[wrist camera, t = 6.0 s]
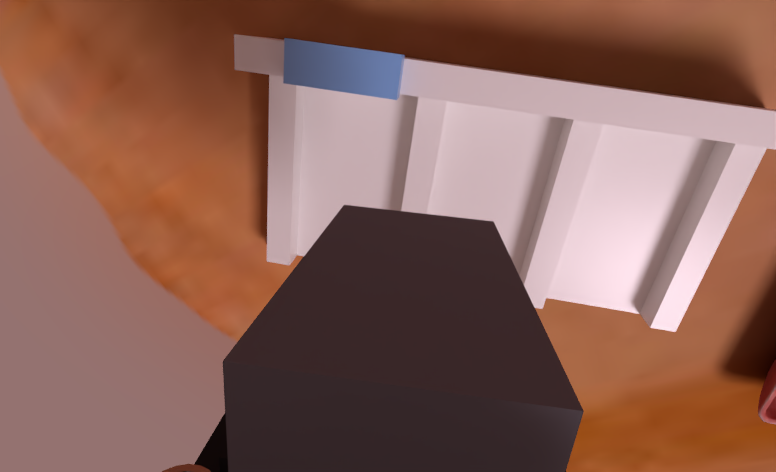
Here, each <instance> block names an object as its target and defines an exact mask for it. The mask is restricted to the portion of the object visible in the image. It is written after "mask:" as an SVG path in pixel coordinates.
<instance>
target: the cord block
mask: <svg viewBox="0 0 776 472" xmlns="http://www.w3.org/2000/svg"><path fill="white" fill-rule="evenodd" d="M223 373H224V374H223V375H224V395H225V414H226V434H227V454H228V472H565V471H566V468H567V464H568V461H569V458H570V454H571V451H572V448H573V444H574V441H575V438H576V435H577V431H578V428H579V425H580V421H581V418H582V415H583V409H582V407H581V405H580V403H579V401H578V398H577V396H576V394H575V392H574V390H573V388H572V386H571V384H570V382H569V379H568V377H567V375H566V373H565V371H564V369H563V367H562V365H561V363H560V360H559V358H558V356H557V354H556V352H555V350H554V348H553V346H552V344H551V341H550V339H549V337H548V335H547V333H546V331H545V329H544V327H543V325H542V323H541V320H540V318H539V316H538V314H537V312H536V310H535V308H534V306H533V304H532V301H531V299H530V297H529V295H528V293H527V291H526V289H525V287H524V285H523V282H522V280H521V278H520V276H519V274H518V272H517V270H516V268H515V266H514V263H513V261H512V259H511V257H510V255H509V253H508V251H507V249H506V247H505V244H504V242H503V240H502V238H501V236H500V234H499V232H498V230H497V228H496V225H495V223H494V221H486V220H477V219H468V218H459V217H450V216H441V215H432V214H423V213H414V212H405V211H396V210H387V209H378V208H369V207H360V206H351V205H343V207H342V208H341V209H340V211H339V212H338V213H337V214H336V216H335V217H334V218H333V220H332V221H331V222H330V224H329V225H328V226H327V227H326V229H325V230H324V231H323V233H322V234H321V235H320V236H319V238H318V239H317V240H316V242H315V243H314V244H313V245H312V247H311V248H310V249H309V251H308V252H307V253H306V255H305V256H304V257H303V258H302V260H301V261H300V262H299V264H298V265H297V266H296V267H295V269H294V270H293V271H292V273H291V274H290V275H289V276H288V278H287V279H286V280H285V282H284V283H283V284H282V286H281V287H280V288H279V289H278V291H277V292H276V293H275V295H274V296H273V297H272V298H271V300H270V301H269V302H268V304H267V305H266V306H265V307H264V309H263V310H262V311H261V313H260V314H259V315H258V316H257V318H256V319H255V320H254V322H253V323H252V324H251V326H250V327H249V328H248V329H247V331H246V332H245V333H244V335H243V336H242V337H241V338H240V340H239V341H238V342H237V344H236V345H235V346H234V347H233V349H232V350H231V352H230V353H229V354H228V355H227V357H226V358H225V359H224V361H223Z"/></svg>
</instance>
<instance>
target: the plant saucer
mask: <svg viewBox="0 0 776 472" xmlns="http://www.w3.org/2000/svg"><path fill="white" fill-rule="evenodd" d="M758 414H759V417H760V418H761V419H762V421H764V422H768V423H771V424H776V359H775V361H774V362H773V364H772V366H771V367H770V369H769V372H768V374H767V377H766V379H765V382H764V385H763V388H762V391H761V395H760V399H759V406H758Z"/></svg>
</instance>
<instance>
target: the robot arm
mask: <svg viewBox="0 0 776 472" xmlns="http://www.w3.org/2000/svg"><path fill="white" fill-rule="evenodd" d="M162 472H228V454H227V434H226V414H224V416H223V417H222V419H221V421H220V422H219V424H218V426H217V427H216V429H215V431H214V432H213V434H212V436H211V437H210V439H209V441H208V442H207V444H206V446H205V447H204V449H203V451H202V452H201V454H200V456H199V457H198V459H197V461H196V462H195V464H194V465H192V464H185V465H179V466H175V467H172V468H169V469H167V470H164V471H162ZM565 472H566V471H565Z"/></svg>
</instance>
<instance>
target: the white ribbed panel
mask: <svg viewBox="0 0 776 472" xmlns="http://www.w3.org/2000/svg"><path fill="white" fill-rule="evenodd" d="M234 61H235V70H240V71H246V72H253V73H260V74H267V75H269V131H268V206H267V262H273V263H279V264H285V265H290V264H291V263H292V261H293V260H294V259H295V257H296V256H297V255H299V256H305V255H306V253H307V252H308V251H309V249H310V248H311V247H312V245H313V244H314V243H315V242H316V240H317V239H318V238H319V236H320V235H321V234H322V233H323V231H324V230H325V229H326V227H327V226H328V225H329V224H330V222H331V221H332V220H333V218H334V217H335V216H336V214H337V213H338V212H339V211H340V209H341V208H342V207H343V205H351V206H360V207H369V208H378V209H387V210H396V211H405V212H414V213H423V214H432V215H441V216H450V217H459V218H468V219H477V220H486V221H494V223H495V225H496V228H497V230H498V232H499V234H500V236H501V238H502V240H503V242H504V244H505V247H506V249H507V251H508V253H509V255H510V257H511V259H512V261H513V263H514V266H515V268H516V270H517V272H518V274H519V276H520V278H521V280H522V282H523V285H524V287H525V289H526V291H527V293H528V295H529V297H530V299H531V301H532V304H533V306H534V308H540V309H543V306H544V303H545V300H546V298H550V299H556V300H562V301H568V302H574V303H580V304H586V305H591V306H597V307H603V308H609V309H615V310H621V311H626V312H632V313H638V314H640V315H641V316H642V318H643V319H644V320H645V321H646V323H647V324H648V325H649V327H650V328H655V329H661V330H667V331H673V332H676V330H677V328H678V326H679V324H680V322H681V320H682V318H683V316H684V314H685V312H686V310H687V308H688V306H689V304H690V302H691V300H692V298H693V296H694V294H695V292H696V290H697V288H698V286H699V284H700V282H701V280H702V278H703V276H704V274H705V272H706V270H707V268H708V266H709V263H710V261H711V259H712V257H713V255H714V253H715V251H716V249H717V247H718V245H719V243H720V241H721V239H722V237H723V235H724V233H725V231H726V229H727V227H728V225H729V223H730V221H731V219H732V217H733V215H734V213H735V211H736V209H737V207H738V205H739V203H740V201H741V199H742V197H743V195H744V193H745V191H746V189H747V187H748V185H749V183H750V181H751V179H752V177H753V175H754V173H755V171H756V169H757V167H758V165H759V163H760V161H761V159H762V157H763V155H764V153H765V151H766V149H767V148H769V149H775V150H776V110H774V109H767V108H761V107H754V106H747V105H740V104H733V103H725V102H718V101H711V100H704V99H697V98H690V97H683V96H676V95H669V94H662V93H655V92H648V91H641V90H634V89H627V88H620V87H613V86H606V85H599V84H592V83H585V82H578V81H571V80H564V79H557V78H550V77H543V76H536V75H529V74H522V73H515V72H508V71H501V70H494V69H487V68H480V67H473V66H466V65H459V64H452V63H445V62H438V61H430V60H423V59H416V58H409V57H405V55H403V54H396V53H389V52H382V51H375V50H368V49H361V48H354V47H347V46H340V45H332V44H325V43H318V42H311V41H304V40H297V39H289V38H285V39H284V40H283V39H276V38H267V37H257V36H247V35H237V34H234Z"/></svg>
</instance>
